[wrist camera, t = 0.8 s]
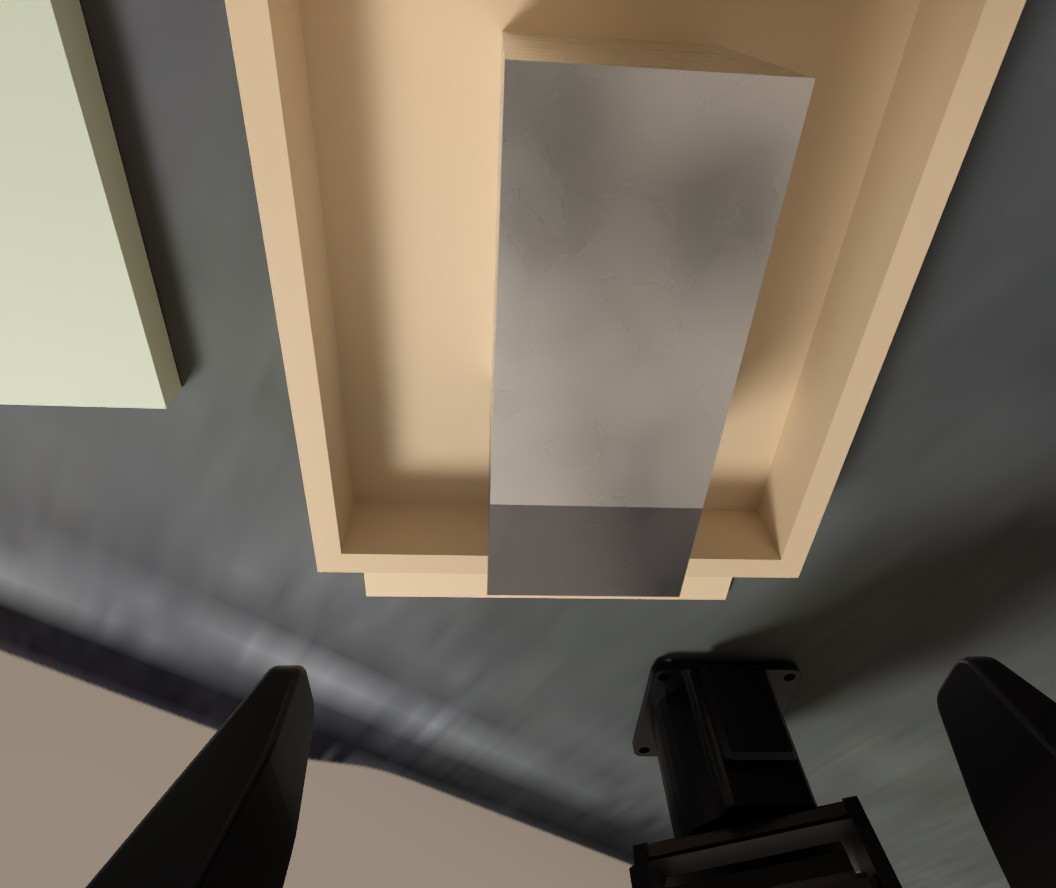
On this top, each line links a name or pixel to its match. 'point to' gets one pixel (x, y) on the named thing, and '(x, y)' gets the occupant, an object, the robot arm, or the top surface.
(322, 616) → the top surface
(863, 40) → the tray
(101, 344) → the sage board
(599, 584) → the metal tin
